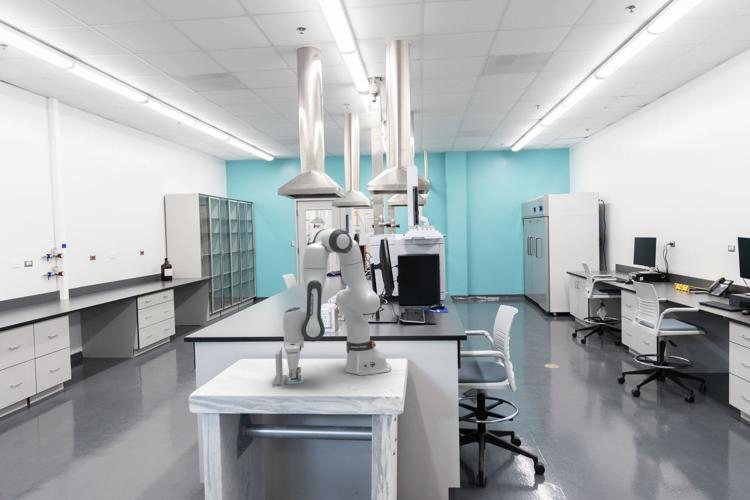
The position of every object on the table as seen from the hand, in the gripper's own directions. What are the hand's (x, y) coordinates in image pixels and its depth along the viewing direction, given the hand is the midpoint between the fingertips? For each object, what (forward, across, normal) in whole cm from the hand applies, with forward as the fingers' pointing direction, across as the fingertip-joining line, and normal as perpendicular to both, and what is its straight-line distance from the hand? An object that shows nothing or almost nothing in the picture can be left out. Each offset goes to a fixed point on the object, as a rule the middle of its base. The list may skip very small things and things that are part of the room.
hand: (295, 373), depth 206 cm
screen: (+3, -1, -7) cm, 8 cm away
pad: (+3, 0, 0) cm, 3 cm away
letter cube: (+3, 0, 0) cm, 3 cm away
